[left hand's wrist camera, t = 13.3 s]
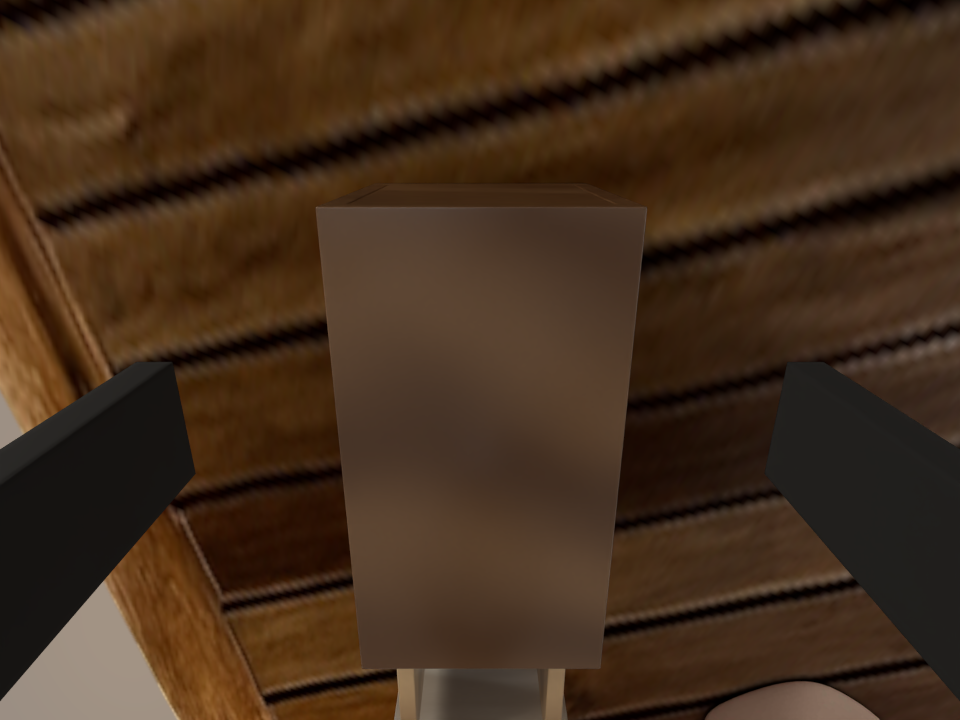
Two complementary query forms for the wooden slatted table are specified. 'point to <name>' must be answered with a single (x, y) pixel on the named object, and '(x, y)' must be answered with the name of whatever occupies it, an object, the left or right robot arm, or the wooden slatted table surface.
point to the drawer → (480, 694)
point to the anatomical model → (792, 704)
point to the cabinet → (481, 414)
